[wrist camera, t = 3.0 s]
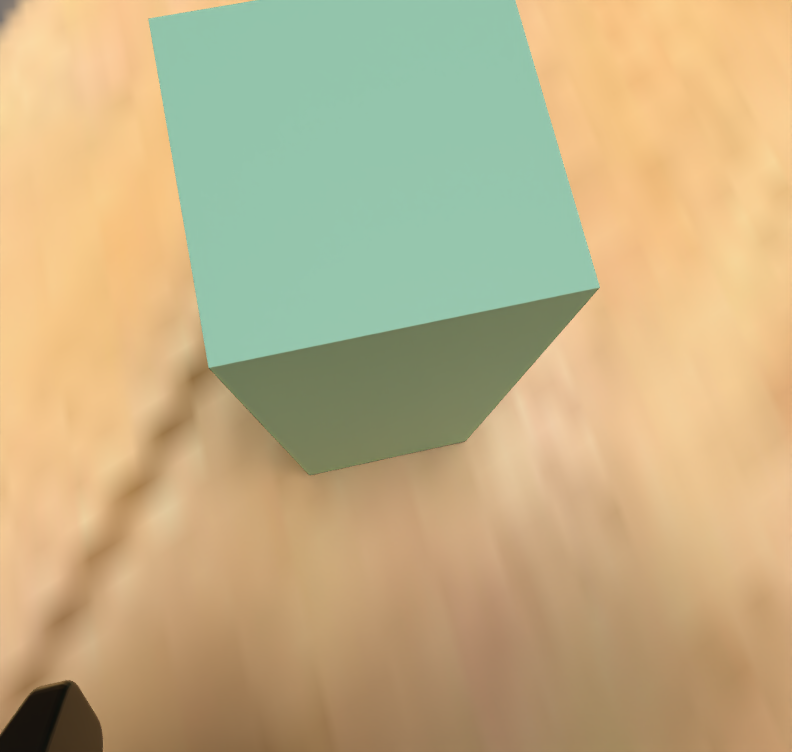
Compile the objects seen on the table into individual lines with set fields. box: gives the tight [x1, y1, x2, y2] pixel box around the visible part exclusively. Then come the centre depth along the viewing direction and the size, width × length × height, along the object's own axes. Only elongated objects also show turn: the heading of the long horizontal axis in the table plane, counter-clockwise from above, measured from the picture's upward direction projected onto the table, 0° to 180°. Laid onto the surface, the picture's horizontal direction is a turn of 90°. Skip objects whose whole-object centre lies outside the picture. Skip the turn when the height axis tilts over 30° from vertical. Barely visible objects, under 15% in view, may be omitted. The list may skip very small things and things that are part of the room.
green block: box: [149, 0, 600, 475], centre depth 15 cm, size 4×4×13 cm
